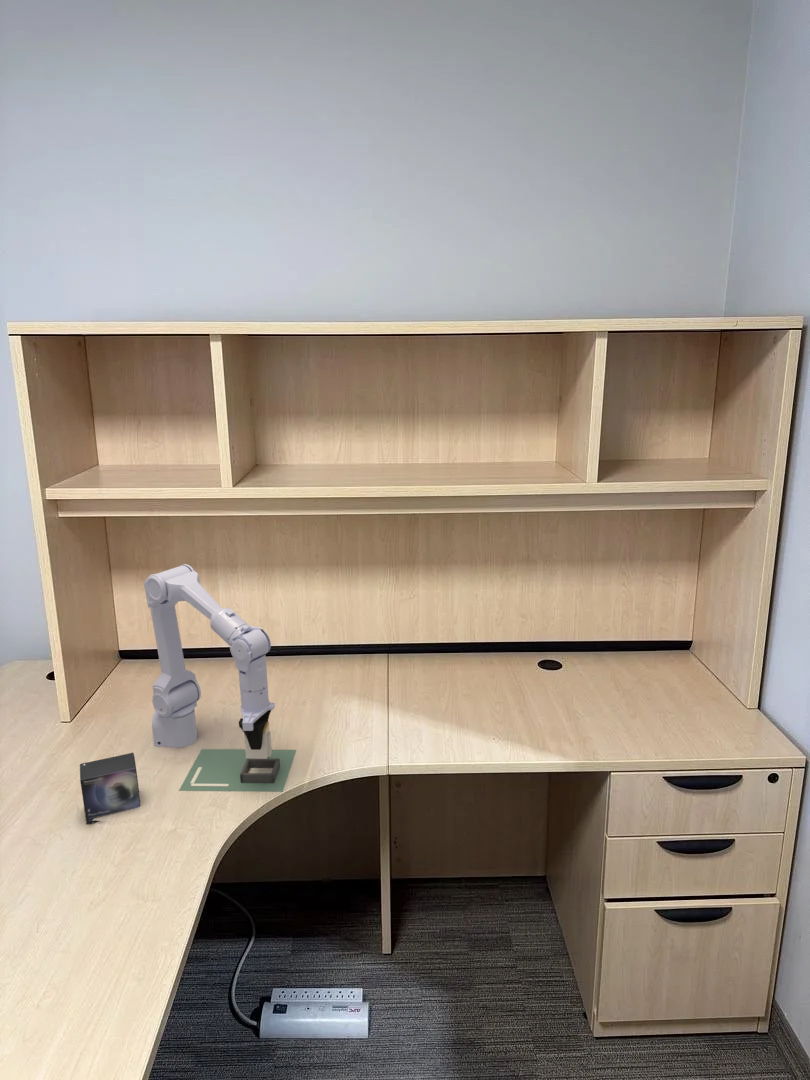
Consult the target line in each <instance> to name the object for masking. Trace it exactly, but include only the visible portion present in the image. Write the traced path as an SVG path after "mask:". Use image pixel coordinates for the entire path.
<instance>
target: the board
mask: <svg viewBox="0 0 810 1080" xmlns="http://www.w3.org/2000/svg"><path fill="white" fill-rule="evenodd" d="M296 752H297V749H272V753H271V756H268V758H267V759H251V758H246V751H245V749H244V748H240V749H239V748H238V749H237V748H231V749H229V748H201V749H200V751H199V753H198V755H197V757H196V759H195V760H194V762H193V763H192V766H191V768H190V769H189V771H188V773H187V775H186V777H185V778H184V780H183V783H182V784H181V785H180V788H179V789H178V792H257V793H258V792H260V793H262V792H264V793H265V792H266V793H267V792H269V793H274V792H275V793H282V792H283V791H284V789H285V785H286V783H287V779H288V777H289V773H290V771H291V768H292V764H293V761H294V758H295V755H296Z"/></svg>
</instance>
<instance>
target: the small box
mask: <svg viewBox="0 0 810 1080" xmlns="http://www.w3.org/2000/svg"><path fill="white" fill-rule="evenodd" d="M79 782H80V787H81V795H82V801H83V808H84V810H83V811H84V815H85V823H86V825H89V824H93V823H97V822H99V820H94V819H97V818H100V817H104V816H109V815H113V814H117V813H121V812H122V813H123V812H126V811H130V810H133V809H137V808H140V807H141V799H140V797H141V796H140V790H139V789H140V788H139V780H138V771H137V765H136V758H135V754H134V752H130V753H125V754H121V755H116V756H111V757H106V758H103V759H98V760H93V761H88V762H82V763H80V764H79Z"/></svg>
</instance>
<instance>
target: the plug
mask: <svg viewBox="0 0 810 1080" xmlns="http://www.w3.org/2000/svg"><path fill="white" fill-rule="evenodd" d="M243 735H244V747H245V751H246V758H251V759H267V758H268V756H271V753H272V750H273V749H272V748H273V747H272V733H271V731H270V722H269V721H268V722H266V724H265V727H264V730H263V739H262V747H261V749H260V750H251V748H250V745H249V743H248V740H247V737H246V735H245V733H244V732H243Z"/></svg>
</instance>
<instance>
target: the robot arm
mask: <svg viewBox="0 0 810 1080" xmlns="http://www.w3.org/2000/svg"><path fill="white" fill-rule="evenodd" d="M143 586H144V592H145V596H146V602H147V603H146V604H147V607H148V608H149V609H150V615H151V620H152V627H153V631H154V637H155V643H156V648H157V649H156V650H157V654H158V660H159V666H160V675H159V676H158V677H157V678H156V680H155V681H154V683H153V684H152V690H153V691H152V692H153V694H152V705H153V709H154V713H153V715H152V720H151V721H152V722H151V729H152V738H153V739H152V740H153V746H154V747H158V748H160V747H163V748H164V747H165V748H166V747H167V748H172V749H180V748H186V747H189V746H191V745H193V744H195V743H196V742H197V740H198V729H197V721H196V719H197V718H196V709H195V708H197V706H198V704H197V702H199V700H200V699H201V697H202V695H201V694H202V692H201V691H202V690H201V686H200V685H199V683H198V681H197V677H196V674H195V673H194V672H193V671H191V670H188V669H186V666H185V665H186V664H185V658H184V651H183V647H182V640H181V634H180V629H179V624H178V617H177V611H176V605H177V604H178V602H187V603H188V604H189V605H191V606H192V607H193V608H195V609H196V610H197V611H198V612H199V613H201V614H202V615H203V616H204V617H206V618H207V619H209V620H210V622H209V623H210V629H211V630H212V631H213V632H214V633H215V634H216V635H218V637H220V638H221V639H222V640H223V641H224V642H225V643H226V644H227V645H228V646H229V650H230V653H231V656H232V658H233V659H234V663H235V667H236V669H237V670H238V681H239V694H240V712H241V716H242V718H240V719H239V721H238V726H239V728H240V730H241V731H242V732H243V734H244V733H245V735H246V737H247V740H248V743H249V745H250V748H251V750H260V749H261V747H262V739H263V730H264V727H265V724H266V722H269V719H270V715H271V712H272V711H273V710H274V709H275V706H276V704H275V702H270V699H269V685H268V684H269V683H268V672H267V670H268V669H267V659H266V657H267V656H266V654H267V653H268V652H270V650H271V648H272V647H271V646H272V643H271V638H270V636H269V634H268V632H266V631H265V630H264V629H263V628H262V627H259V626H254V625H252V624H251V625H249V624H248V623H247V622H246V620H244V619H243V618H242V617H240V615H239V614H237V613H236V612H235V610H233V609H232V608H230V607H222V606H221V605H220V604H219V603H218V602H217V600H216V599H215V598H213V596H212V595H211V594H210V593H209V592H208V591H207V590H206V589H205V588H204V587H203V586H202V584H201V580H200V576H199V573H198V572H196V571H195V569H194V568H193V567H192V566H191V565H189V564H187V563H184V564H181V565H180V566H176V567H173V568H170V569H167V570H164V571H160V572H158V573H152V574H150V575H149V576H148V577H147V578H146V579H145V580H144V582H143Z"/></svg>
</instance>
